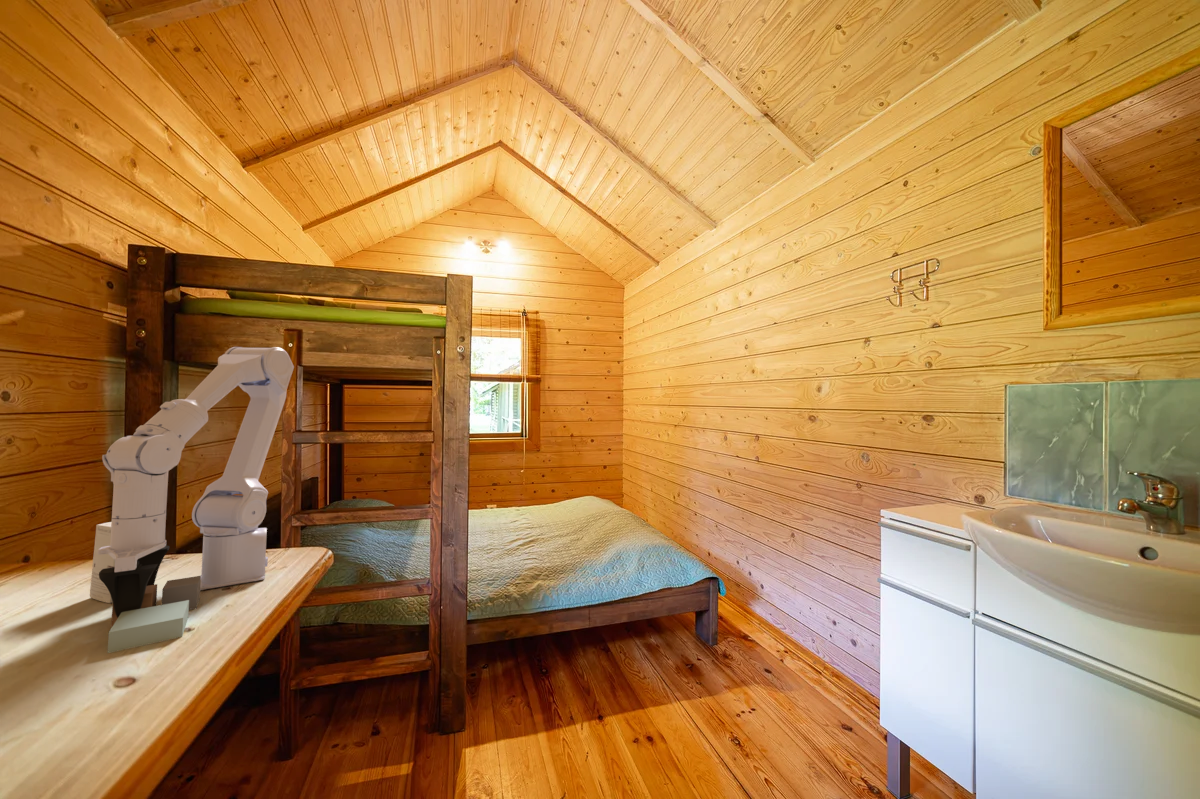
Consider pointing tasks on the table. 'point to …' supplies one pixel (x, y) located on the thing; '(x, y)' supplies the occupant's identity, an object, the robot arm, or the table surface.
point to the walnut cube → (148, 600)
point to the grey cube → (182, 591)
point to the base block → (148, 626)
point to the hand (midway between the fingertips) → (134, 605)
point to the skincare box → (101, 563)
